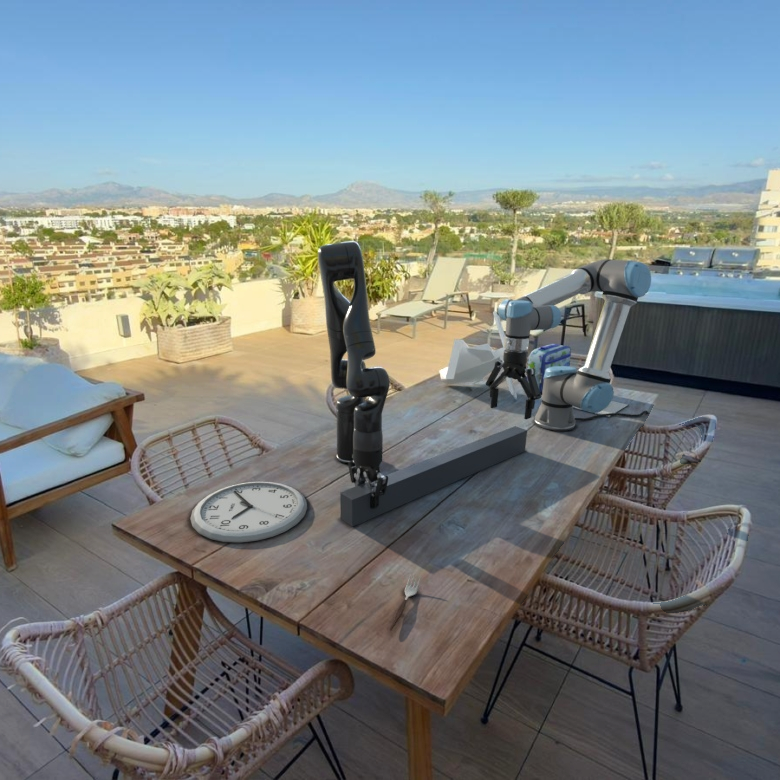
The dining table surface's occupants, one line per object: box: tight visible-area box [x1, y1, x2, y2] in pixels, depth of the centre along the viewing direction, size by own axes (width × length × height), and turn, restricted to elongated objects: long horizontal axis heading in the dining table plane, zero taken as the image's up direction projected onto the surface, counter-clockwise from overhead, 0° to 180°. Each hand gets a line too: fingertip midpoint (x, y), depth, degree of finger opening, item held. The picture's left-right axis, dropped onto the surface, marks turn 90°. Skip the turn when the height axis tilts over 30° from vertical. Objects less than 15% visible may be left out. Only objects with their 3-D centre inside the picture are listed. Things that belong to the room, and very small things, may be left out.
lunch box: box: [527, 343, 572, 394], centre depth 248 cm, size 26×11×21 cm, turn 135°
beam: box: [339, 425, 528, 528], centre depth 157 cm, size 75×5×8 cm, turn 131°
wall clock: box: [190, 481, 308, 544], centre depth 139 cm, size 30×2×30 cm
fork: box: [389, 573, 422, 632], centre depth 105 cm, size 3×16×2 cm, turn 160°
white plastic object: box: [438, 310, 527, 400], centre depth 245 cm, size 37×45×31 cm
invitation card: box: [573, 400, 629, 418], centre depth 226 cm, size 21×1×15 cm
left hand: (367, 503), depth 138 cm, fingers closed on beam, 5 cm apart
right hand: (510, 412), depth 173 cm, fingers open, 13 cm apart
